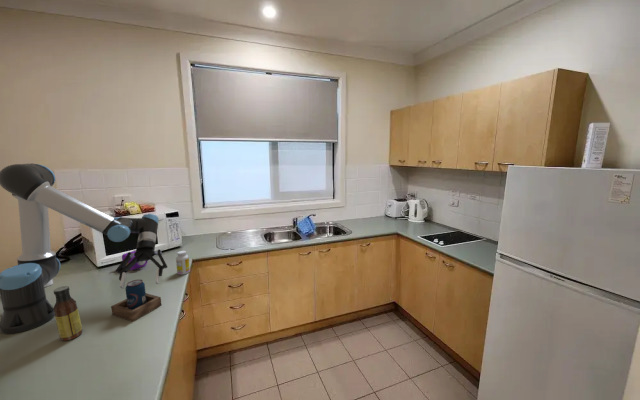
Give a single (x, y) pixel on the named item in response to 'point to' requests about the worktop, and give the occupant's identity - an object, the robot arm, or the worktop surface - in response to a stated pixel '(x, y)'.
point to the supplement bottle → (182, 263)
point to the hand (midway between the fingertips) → (139, 285)
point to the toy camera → (137, 265)
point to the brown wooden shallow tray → (131, 315)
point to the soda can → (135, 294)
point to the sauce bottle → (66, 314)
